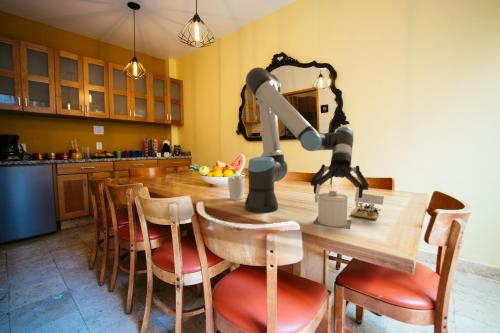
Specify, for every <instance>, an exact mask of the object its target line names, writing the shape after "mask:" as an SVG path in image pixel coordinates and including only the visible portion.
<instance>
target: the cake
mask: <svg viewBox="0 0 500 333" xmlns="http://www.w3.org/2000/svg"><path fill="white" fill-rule="evenodd" d="M384 198H385V196H384V195H377V194H376V195H375V194H369V193H364V192H363V194H362V198H359V200H358V207H356V206H355V208H354V209H352V210H351V212H350V216H355V217H359V218H363V219H369V220H377V218H378V217H379V212H381V210H382V209H381V208H378V207H374V206H375V205H381V206H383V205H384ZM354 202H356V193H355V196H354ZM364 204H365V205H364Z"/></svg>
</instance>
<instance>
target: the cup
mask: <svg viewBox="0 0 500 333" xmlns="http://www.w3.org/2000/svg"><path fill="white" fill-rule="evenodd" d="M227 184H228V191H229V192H228V193H229V197H230V200H231V201H240V200H243V199H244V198H243V197H244V190H245V184H246V182H245V176H242V175H231V176H228V178H227Z"/></svg>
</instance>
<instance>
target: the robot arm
mask: <svg viewBox="0 0 500 333" xmlns="http://www.w3.org/2000/svg"><path fill="white" fill-rule="evenodd" d="M245 86H246V89H247V90H248V91H249V92H250V93H251V94H252V95H253V96H254V97H255V103H256V104H257V105H258V107H259V119H260V128H261V141H262V153H261V155H260V156H258V157H252V158H250V159H249V160H248V166H247V170H248V193H247V197H246V199H245V202H244V210H245V211H248V212H252V213H263V214H265V213H273V212H275V211H277V210H279V203H278V199H277V196H276V193H275V182H279V181H281V180H282V179H284V178H285V177H286V176H287V173H288V170H289V169H288V163H287V162H286V161H285V155H284V153H283V152H282V151H281V142H280V133H279V121H281V122H282V123H283V124H284V126H285V127H286V128H287V129H288V130H289V131H290V133H292V134H293V135H294V136H295V138H296V139H297V140H298V141H299V142H300V145H301V147H302V148H303V149H304V150H305V151H309V152H316V151H332V153H331V159H330V164H329V165H328V166H326V165H325V164H322V165H321V166H320V169H319V170H318V171H317V172H316V173H315V174H314V176H313V177H312V178H311V179H310V180H309V182H310V186H312V187H313V194H314V202H315V203H317V204H318V198H319V194H320V191H321V186H322V185H324V184H325V183H326V182H328V180H330V179H332V178H341V179H343V178H345V179H347V180H349V182H350V183H351V184H352V185H353V186H354V187H355V188H356V192H355V194H356V201H355V208H356V207H358V206H359V202H358V200H359V198H362V194H363V193H364V191H368V190H369V183H368V181H367V180H366V178H365V176H364V175H363V173H362V172H361V170H360V166H359V165H356V166H355V167H353V166H352V156H353V155H352V154H353V145H354V131H353V129H352V128H350V127H349V126H341V127H339V128H337V129H336V130H335V132H331V133H330V132H327V133H325V132H323V133H321V132H318V131H317V130H316V129H315V128H314V126H312V125H311V124H310V123H309V122H308V121H307V119H305V118H304V116H302V114H300V112H299V111H298V110H297V109H296V108H295V107H294V106H293V105H292V104H291V103H290V102H289V101H288V100H287V99H286V98H285V97H284V95H283V94H282V93H281V90H282V85H281V81H280V80H279V78H278V77H277V76H276V75H274V74H272V73H270V71H268V70H266V68H263V67H254V68H251V69H250V70H249V71H248V72H247V74H246V77H245ZM326 172H327V173H326ZM351 172H352V173H354V174H355V175H356V177H357V178H356V177H355V176H354V175H353V174H352V173H351Z"/></svg>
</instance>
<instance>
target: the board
mask: <svg viewBox="0 0 500 333" xmlns="http://www.w3.org/2000/svg"><path fill="white" fill-rule="evenodd" d="M312 225H316V226H323V227H327V226H326V225H323V224H321V223H319V222H318V215H317V216H316V218H315V219H314V221H313V223H312ZM351 225H352V220H351V219H347V224H346V225H345V226H342V227H336V228H338V229H346V230H351ZM328 227H331V228H334V227H333V226H328Z"/></svg>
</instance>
